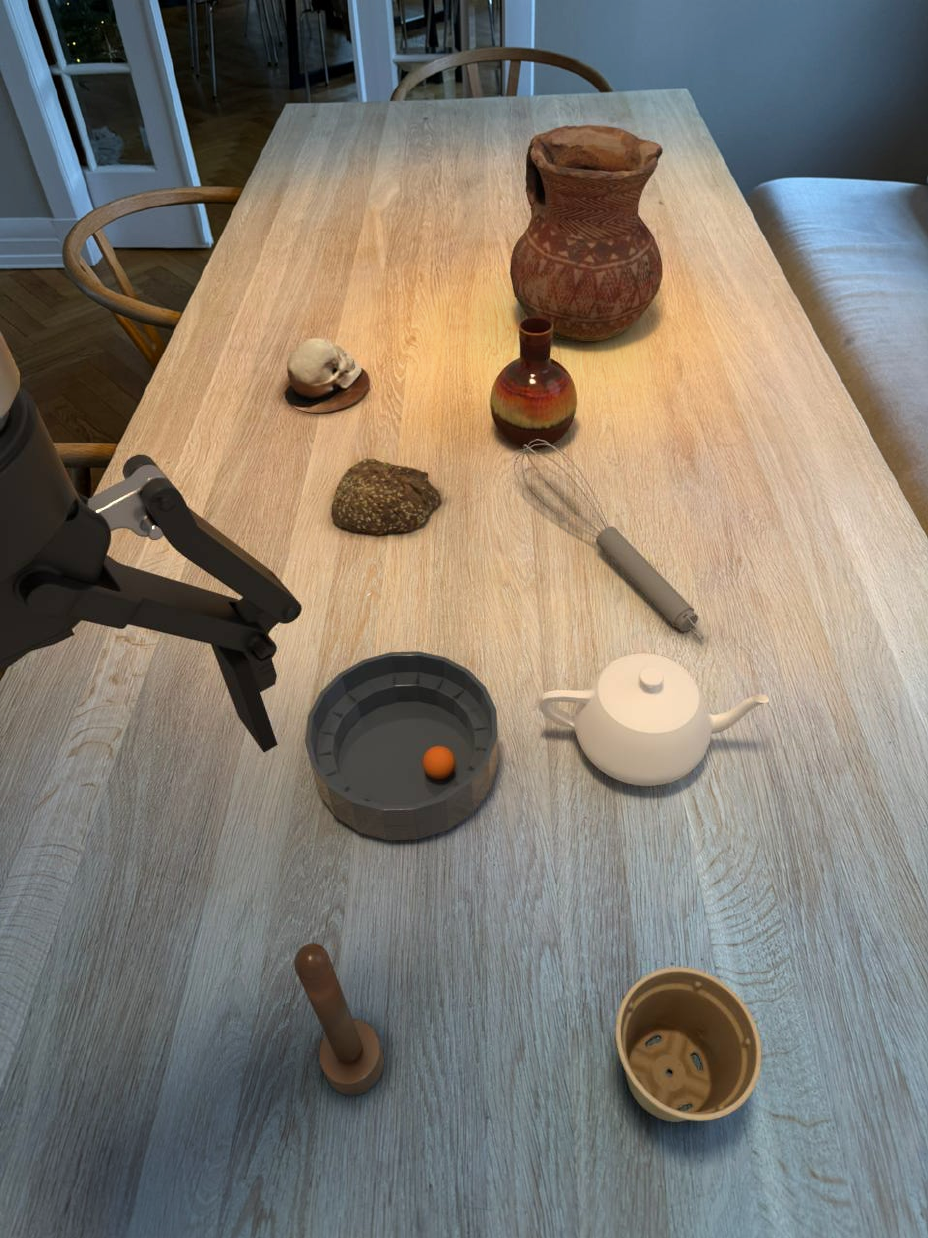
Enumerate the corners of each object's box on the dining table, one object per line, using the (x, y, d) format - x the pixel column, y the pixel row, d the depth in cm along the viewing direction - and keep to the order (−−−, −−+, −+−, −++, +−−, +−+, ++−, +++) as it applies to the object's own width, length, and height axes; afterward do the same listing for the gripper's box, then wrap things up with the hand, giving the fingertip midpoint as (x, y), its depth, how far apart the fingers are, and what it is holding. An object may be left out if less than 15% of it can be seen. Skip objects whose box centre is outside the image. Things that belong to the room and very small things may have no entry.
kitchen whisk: (678, 657, 90) (688, 616, 85) (502, 481, 110) (502, 439, 105) (724, 633, 92) (736, 591, 87) (543, 464, 112) (545, 422, 107)
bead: (430, 787, 80) (411, 768, 79) (439, 761, 82) (421, 741, 81) (456, 784, 79) (438, 764, 77) (465, 757, 81) (447, 737, 79)
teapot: (743, 695, 87) (766, 627, 79) (759, 806, 79) (787, 742, 71) (539, 684, 88) (543, 616, 81) (535, 792, 80) (538, 728, 73)
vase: (587, 419, 118) (596, 312, 106) (554, 466, 111) (560, 358, 100) (512, 399, 121) (513, 294, 110) (476, 444, 115) (473, 336, 103)
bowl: (380, 881, 75) (373, 848, 70) (283, 748, 84) (271, 711, 80) (534, 775, 81) (536, 738, 77) (428, 662, 91) (424, 624, 86)
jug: (671, 300, 138) (697, 127, 119) (631, 370, 125) (654, 189, 107) (538, 276, 144) (544, 108, 126) (488, 340, 132) (486, 164, 113)
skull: (340, 345, 130) (358, 317, 120) (369, 411, 130) (389, 388, 121) (265, 369, 125) (277, 342, 116) (295, 437, 126) (310, 415, 116)
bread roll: (319, 528, 105) (313, 496, 101) (355, 464, 113) (351, 432, 109) (422, 546, 102) (419, 514, 99) (451, 479, 110) (450, 447, 106)
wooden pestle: (351, 1109, 63) (302, 1012, 48) (312, 1063, 65) (254, 956, 50) (396, 1062, 65) (363, 954, 50) (357, 1019, 67) (314, 902, 52)
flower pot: (761, 1076, 64) (791, 1039, 58) (683, 1182, 60) (705, 1156, 53) (657, 982, 69) (673, 938, 62) (577, 1075, 64) (586, 1039, 58)
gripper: (-697, 739, 18) (-141, 1049, 34) (336, 331, 28) (395, 721, 44) (-661, 544, 22) (-179, 901, 38) (228, 247, 32) (318, 631, 48)
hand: (127, 806), depth 41 cm, fingers open, 13 cm apart
